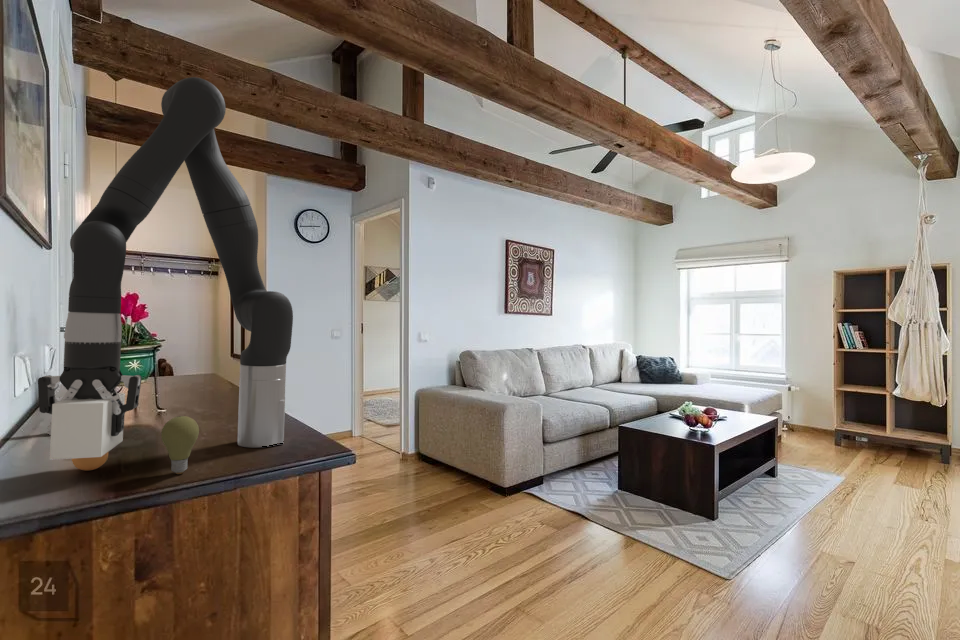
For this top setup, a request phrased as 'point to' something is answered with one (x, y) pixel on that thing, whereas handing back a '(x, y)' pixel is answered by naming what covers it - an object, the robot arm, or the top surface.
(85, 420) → the light gray block
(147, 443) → the top surface
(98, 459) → the orange egg
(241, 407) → the robot arm
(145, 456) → the top surface
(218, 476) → the top surface
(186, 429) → the light bulb
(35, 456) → the top surface
